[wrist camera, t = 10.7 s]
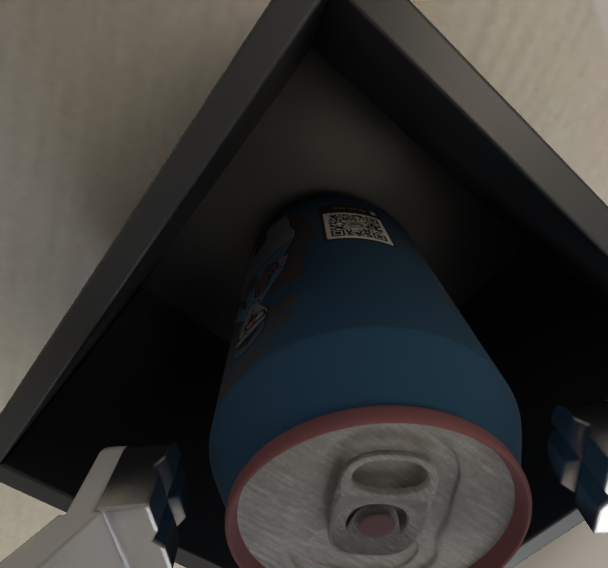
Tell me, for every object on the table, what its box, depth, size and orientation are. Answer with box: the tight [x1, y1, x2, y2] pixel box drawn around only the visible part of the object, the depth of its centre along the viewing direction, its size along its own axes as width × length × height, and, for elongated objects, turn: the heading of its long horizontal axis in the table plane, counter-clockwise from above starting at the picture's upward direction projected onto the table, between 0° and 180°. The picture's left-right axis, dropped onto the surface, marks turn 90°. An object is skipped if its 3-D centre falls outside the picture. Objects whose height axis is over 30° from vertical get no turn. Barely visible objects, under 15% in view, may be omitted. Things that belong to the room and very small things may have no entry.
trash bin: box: [0, 0, 608, 568], centre depth 15 cm, size 13×13×11 cm
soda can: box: [209, 197, 532, 568], centre depth 13 cm, size 7×7×12 cm
